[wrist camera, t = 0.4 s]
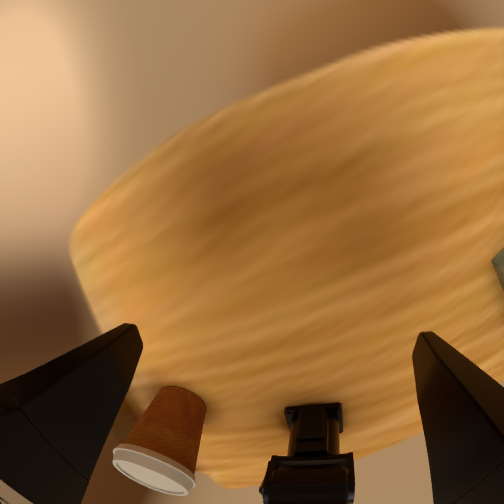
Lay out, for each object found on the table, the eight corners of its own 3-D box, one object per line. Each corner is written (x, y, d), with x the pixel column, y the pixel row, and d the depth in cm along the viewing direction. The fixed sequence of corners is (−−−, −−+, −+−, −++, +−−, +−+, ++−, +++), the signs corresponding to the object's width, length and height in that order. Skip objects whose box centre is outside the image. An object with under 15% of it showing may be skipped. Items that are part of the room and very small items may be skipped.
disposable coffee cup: (234, 410, 32) (210, 495, 21) (192, 428, 36) (166, 497, 25) (170, 366, 30) (126, 453, 20) (136, 391, 34) (98, 460, 24)
